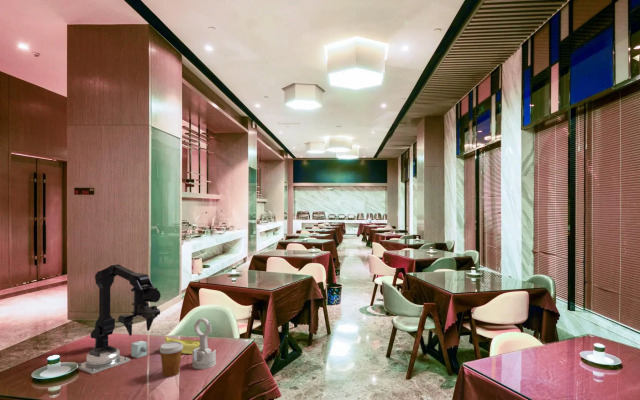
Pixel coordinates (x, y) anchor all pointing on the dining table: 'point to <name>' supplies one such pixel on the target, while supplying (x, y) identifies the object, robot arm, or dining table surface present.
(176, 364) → the disposable coffee cup
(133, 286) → the robot arm
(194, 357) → the engine component
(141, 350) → the block with peg
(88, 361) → the metal mounting base
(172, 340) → the plastic component
